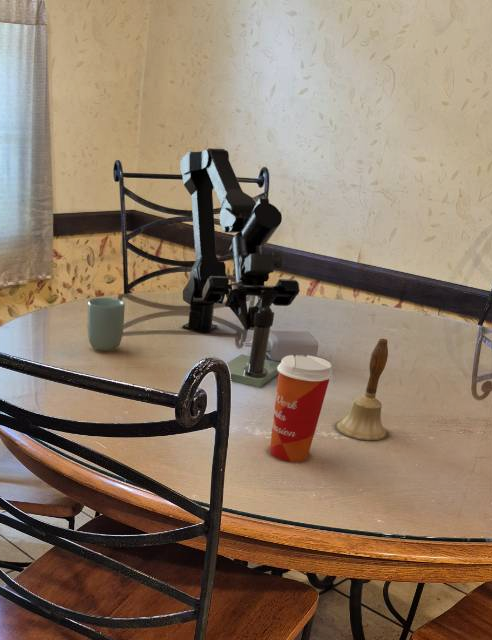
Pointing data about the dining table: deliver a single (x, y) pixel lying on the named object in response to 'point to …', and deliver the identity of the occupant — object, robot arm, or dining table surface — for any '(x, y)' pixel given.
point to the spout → (260, 317)
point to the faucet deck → (249, 380)
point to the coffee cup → (298, 405)
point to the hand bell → (368, 403)
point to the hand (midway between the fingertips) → (253, 329)
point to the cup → (105, 323)
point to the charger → (289, 344)
